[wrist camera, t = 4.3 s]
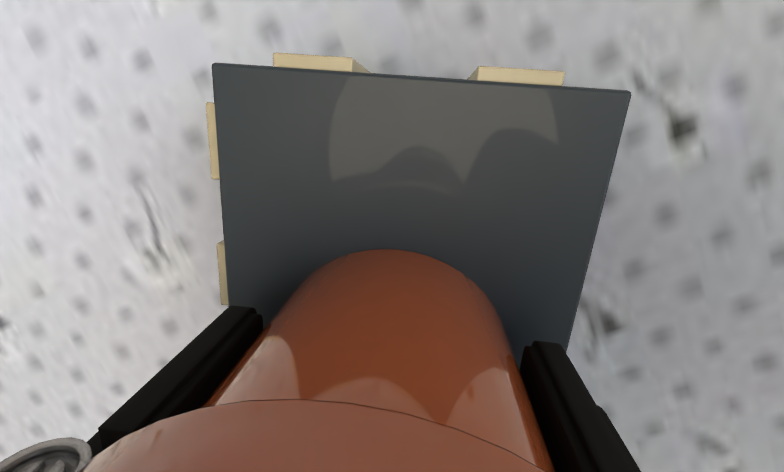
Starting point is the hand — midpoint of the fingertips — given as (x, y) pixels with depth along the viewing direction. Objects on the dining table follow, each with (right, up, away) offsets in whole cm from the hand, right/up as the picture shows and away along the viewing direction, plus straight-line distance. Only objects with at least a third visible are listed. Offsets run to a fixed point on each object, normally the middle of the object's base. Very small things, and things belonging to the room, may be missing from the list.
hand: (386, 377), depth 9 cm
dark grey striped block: (+1, +2, +7) cm, 7 cm away
